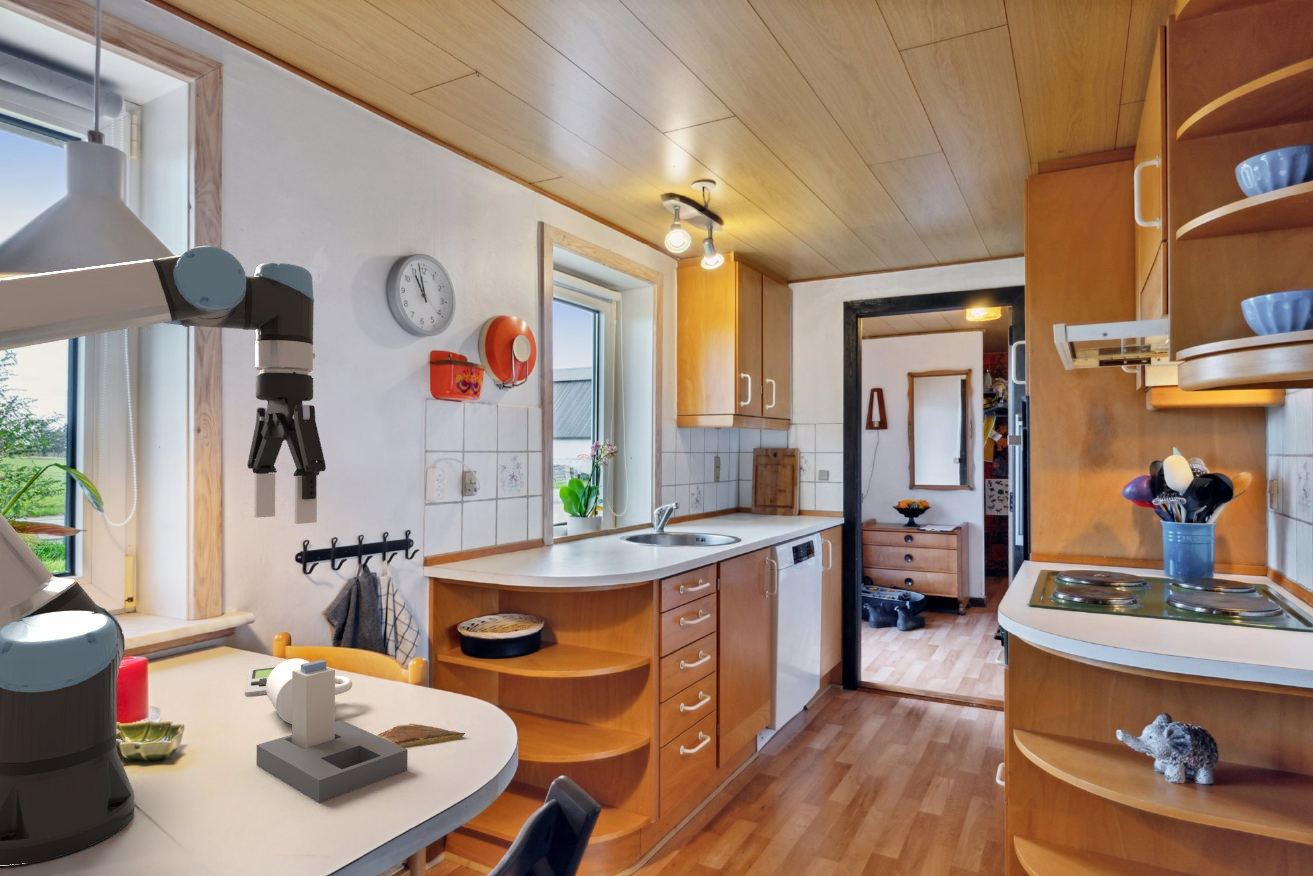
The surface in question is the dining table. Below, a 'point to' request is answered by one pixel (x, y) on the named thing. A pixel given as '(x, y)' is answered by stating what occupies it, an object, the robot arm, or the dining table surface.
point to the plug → (313, 704)
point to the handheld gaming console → (257, 681)
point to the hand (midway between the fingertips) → (284, 520)
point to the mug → (282, 687)
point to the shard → (418, 735)
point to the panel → (333, 762)
